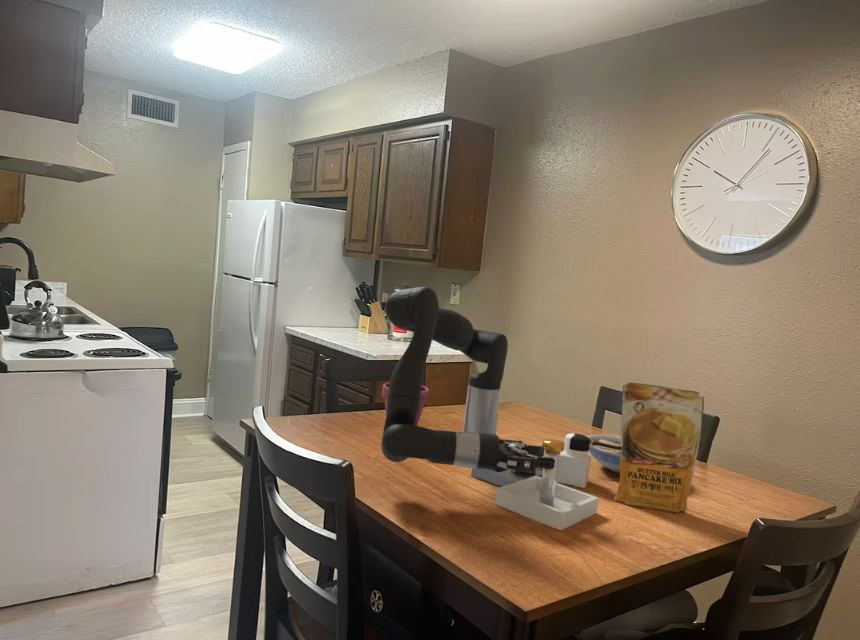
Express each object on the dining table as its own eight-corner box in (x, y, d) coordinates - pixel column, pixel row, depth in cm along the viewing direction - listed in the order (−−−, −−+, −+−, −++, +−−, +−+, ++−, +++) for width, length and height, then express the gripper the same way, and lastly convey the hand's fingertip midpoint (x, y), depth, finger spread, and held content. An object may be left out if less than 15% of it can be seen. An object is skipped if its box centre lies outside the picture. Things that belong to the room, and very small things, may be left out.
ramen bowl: (674, 472, 174) (678, 444, 173) (669, 495, 153) (673, 463, 153) (585, 453, 184) (589, 426, 184) (569, 471, 163) (573, 441, 163)
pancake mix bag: (605, 493, 149) (621, 379, 147) (687, 506, 146) (704, 390, 144) (609, 503, 142) (626, 384, 140) (695, 517, 139) (713, 395, 137)
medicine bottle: (587, 480, 157) (593, 435, 156) (585, 489, 150) (591, 441, 149) (559, 475, 159) (565, 429, 158) (556, 482, 152) (562, 435, 152)
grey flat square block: (501, 467, 160) (503, 452, 159) (544, 482, 151) (546, 466, 151) (471, 475, 150) (473, 459, 150) (515, 492, 141) (518, 475, 141)
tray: (533, 490, 145) (535, 475, 144) (596, 513, 134) (598, 497, 134) (494, 504, 133) (496, 488, 132) (560, 530, 122) (562, 513, 122)
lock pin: (542, 499, 137) (549, 437, 136) (560, 506, 134) (568, 443, 133) (531, 503, 133) (539, 440, 132) (550, 510, 130) (557, 445, 129)
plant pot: (369, 424, 188) (373, 383, 187) (397, 419, 199) (401, 380, 198) (406, 436, 180) (411, 393, 179) (433, 429, 191) (438, 389, 190)
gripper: (482, 442, 124) (560, 450, 125) (472, 424, 138) (542, 431, 139) (477, 478, 124) (555, 485, 126) (468, 457, 139) (538, 464, 140)
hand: (548, 457), depth 133 cm, fingers open, 8 cm apart
